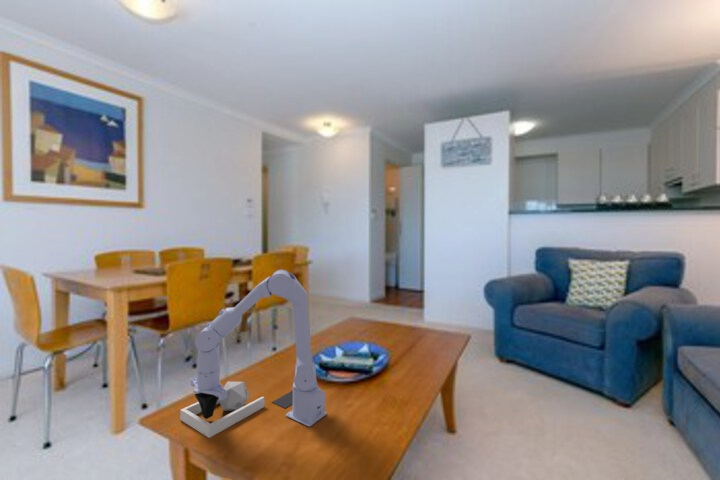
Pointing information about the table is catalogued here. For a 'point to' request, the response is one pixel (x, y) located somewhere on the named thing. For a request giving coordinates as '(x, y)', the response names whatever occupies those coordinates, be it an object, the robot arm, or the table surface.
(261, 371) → the table surface
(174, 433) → the table surface
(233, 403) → the die
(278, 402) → the hole mat
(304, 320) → the robot arm
